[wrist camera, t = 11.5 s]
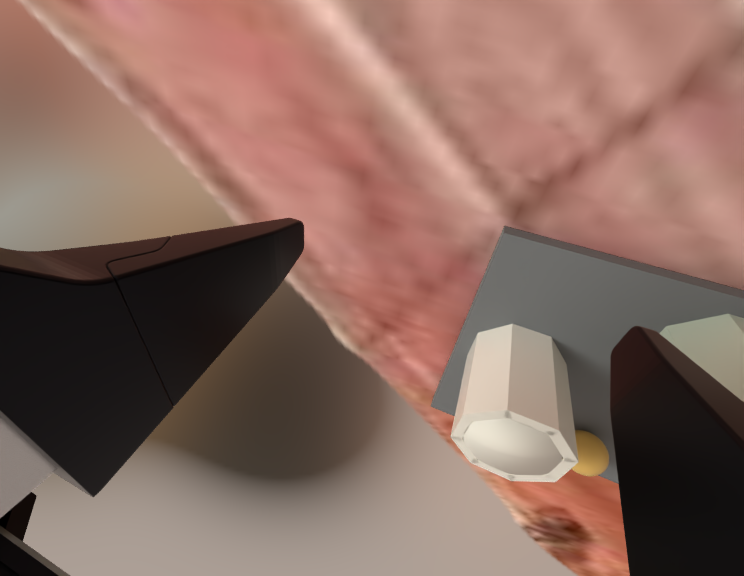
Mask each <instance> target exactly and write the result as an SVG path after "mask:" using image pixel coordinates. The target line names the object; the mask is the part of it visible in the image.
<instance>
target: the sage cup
mask: <svg viewBox="0 0 744 576" xmlns="http://www.w3.org/2000/svg"><path fill="white" fill-rule="evenodd" d="M659 334H660V335H662V336H663V337H664V338H665V339H667V340H668V341H669V342H670V343H672V344H673V345H674V346H675V347H676V348H678V349H679V350H680V351H681V352H683V353H684V354H685V355H686V356H688V357H689V358H690V359H691V360H692V361H694V362H695V363H696V364H697V365H699V366H700V367H701V368H702V369H704V370H705V371H706V372H707V373H708V374H710V375H711V376H712V377H713V378H715V379H716V380H717V381H718V382H720V383H721V384H722V385H723V386H724V387H726V388H727V389H728V390H729V391H731V392H732V393H733V394H734V395H736V396H737V397H738V398H739V399H740V400H742V401H743V402H744V318H742V317H738V316H735V315H731V314H724V315H719V316H714V317H709V318H704V319H699V320H694V321H689V322H684V323H680V324H675V325H670V326H666V327H665V328H664V329H663V330H662V331H661V332H660V333H659Z"/></svg>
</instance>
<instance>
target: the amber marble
mask: <svg viewBox="0 0 744 576" xmlns="http://www.w3.org/2000/svg"><path fill="white" fill-rule="evenodd" d="M575 437H576V445H577V453H578V461H579V462H578V463H577V464H576V465H575V466H574V467H572V468H571V469H572V470H573V471H575V472H577V473H579V474H581V475H584V476H597V475H599V474H601V473H603V472H604V471H605V470H606V469H607V467H608V464H609V454H608V450H607V448H606V446H605V445H604V443H603V442H602V441H601V440H600V439H599V438H598V437H597V436H595V435H594V434H592V433H589V432H587V431H583V430H575Z"/></svg>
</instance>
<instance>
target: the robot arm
mask: <svg viewBox="0 0 744 576" xmlns="http://www.w3.org/2000/svg"><path fill="white" fill-rule="evenodd" d="M303 249H304V225H303V223H302V222H301V221H299V220H296V219H293V218H285V219H278V220H272V221H265V222H259V223H252V224H246V225H239V226H233V227H227V228H220V229H214V230H207V231H200V232H195V233H187V234H181V235H174V236H172V237H170V236H167V237H161V238H154V239H147V240H140V241H133V242H124V243H116V244H108V245H98V246H89V247H81V248H71V249H63V250H52V251H39V252H28V251H16V250H10V249H4V248H0V576H70V575H68V574H67V573H66V572H64V571H63V570H61V569H60V568H59V567H57V566H56V565H55V564H53V563H52V562H50V561H49V560H48V559H46V558H45V557H43V556H42V555H41V554H39V553H38V552H36V551H35V550H34V549H32V548H31V547H29V546H28V545H27V544H25V543H24V542H23V539H24V535H25V532H26V529H27V526H28V522H29V519H30V516H31V513H32V509H33V506H34V503H35V500H36V495H35V494H34V493H32V492H31V491H33V490H34V489H35V488H36V487H37V486H38V485H39V484H41V483H42V482H43V481H44V480H45V479H46V478H47V477H49V476H50V475H51V474H52V473H55V474H57V475H58V476H60V477H61V478H63V479H64V480H66V481H68V482H69V483H71V484H72V485H74V486H76V487H77V488H79V489H80V490H82V491H84V492H85V493H87V494H88V495H90V496H92V497H94V496H95V495H96V494H97V493H99V491H101V490H102V488H103V487H104V486H105V485H106V484H107V483H108V482H109V480H110V479H111V478H112V477H113V476H114V475H115V474H116V473H117V471H118V470H119V469H120V468H121V467H122V466H123V465H124V463H125V462H126V461H127V460H128V459H129V458H130V457H131V455H132V454H133V453H134V452H135V451H136V450H137V449H138V447H139V446H140V445H141V444H142V443H143V442H144V441H145V439H146V438H147V437H148V436H149V435H150V434H151V433H152V432H153V430H154V429H155V428H156V427H157V426H158V425H159V424H160V422H161V421H162V420H163V419H164V418H165V417H166V415H167V414H168V413H169V412H170V411H171V410H172V409H173V406H175V405H176V404H177V403H178V402H179V400H180V399H181V398H182V397H183V396H184V395H185V394H186V392H187V391H188V390H189V389H190V388H191V387H192V386H193V384H194V383H195V382H196V381H197V380H198V379H199V378H200V376H201V375H202V374H203V373H204V372H205V371H206V370H207V368H208V367H209V366H210V365H211V364H212V363H213V362H214V360H215V359H216V358H217V357H218V356H219V355H220V354H221V352H222V351H223V350H224V349H225V348H226V347H227V345H228V344H229V343H230V342H231V341H232V340H233V338H235V336H236V335H237V334H238V333H239V332H240V331H241V330H242V328H243V327H244V326H245V325H246V324H247V322H248V321H249V320H250V319H251V318H252V317H253V316H254V315H255V314H256V312H257V311H258V310H259V309H260V308H261V307H262V306H263V304H264V303H265V302H266V301H267V300H268V299H269V298H270V296H271V295H272V294H273V293H274V292H275V290H276V289H277V288H278V287H279V286H280V284H281V283H282V281H283V280H284V278H285V277H286V276H287V274H288V273H289V271H290V270H291V268H292V267H293V265H294V264H295V262H296V261H297V260H298V258H299V257H300V255H301V254H302V252H303ZM610 416H611V425H612V433H613V441H614V449H615V458H616V466H617V474H618V482H619V490H620V498H621V506H622V515H623V523H624V531H625V539H626V547H627V555H628V563H629V571H630V576H744V402H743V401H742V400H740V399H739V398H738V397H737V396H736V395H734V394H733V393H732V392H731V391H729V390H728V389H727V388H726V387H724V386H723V385H722V384H721V383H720V382H718V381H717V380H716V379H715V378H713V377H712V376H711V375H710V374H708V373H707V372H706V371H705V370H704V369H702V368H701V367H700V366H699V365H697V364H696V363H695V362H694V361H692V360H691V359H690V358H689V357H688V356H686V355H685V354H684V353H683V352H681V351H680V350H679V349H678V348H676V347H675V346H674V345H673V344H672V343H670V342H669V341H668V340H667V339H665V338H664V337H663V336H662V335H660V334H659V333H658V332H657V331H654V330H651V329H648V328H645V327H642V326H634V327H632V328H631V329H630V330H629V331H628V332H627V333H626V334H625V335H624V336H623V337H622V339H621V340H620V341H619V342H618V343H617V344H616V346H615V347H614V348H613V350H612V352H611V356H610Z"/></svg>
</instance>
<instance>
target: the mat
mask: <svg viewBox="0 0 744 576" xmlns="http://www.w3.org/2000/svg"><path fill="white" fill-rule="evenodd" d="M724 314H731V315H735V316H738V317H742V318H744V290H740V289H736V288H733V287H729V286H725V285H722V284H718V283H714V282H711V281H707V280H703V279H699V278H696V277H692V276H688V275H685V274H681V273H677V272H673V271H670V270H666V269H662V268H659V267H655V266H651V265H648V264H644V263H640V262H636V261H633V260H629V259H625V258H622V257H618V256H614V255H611V254H607V253H603V252H599V251H596V250H592V249H588V248H585V247H581V246H577V245H573V244H570V243H566V242H562V241H559V240H555V239H551V238H548V237H544V236H540V235H536V234H533V233H529V232H525V231H522V230H518V229H514V228H511V227H507V226H504V228H503V231H502V233H501V235H500V238H499V240H498V243H497V245H496V247H495V250H494V252H493V255H492V257H491V260H490V262H489V264H488V267H487V269H486V272H485V274H484V276H483V279H482V281H481V284H480V286H479V289H478V291H477V293H476V296H475V298H474V301H473V303H472V305H471V308H470V310H469V313H468V315H467V317H466V320H465V322H464V325H463V327H462V330H461V332H460V334H459V337H458V339H457V342H456V344H455V346H454V349H453V351H452V354H451V356H450V358H449V361H448V363H447V366H446V368H445V371H444V373H443V375H442V378H441V380H440V383H439V385H438V387H437V390H436V392H435V395H434V397H433V400H432V404H431V407H434V408H436V409H438V410H441V411H443V412H446V413H448V414H450V415H453V416H455V413H456V408H457V403H458V398H459V393H460V389H461V384H462V379H463V374H464V369H465V364H466V359H467V355H468V353H469V351H470V349H471V346H472V344H473V342H474V340H475V338H476V336H477V334H478V333H479V332H483V331H486V330H490V329H494V328H498V327H502V326H506V325H509V324H515V325H518V326H521V327H524V328H527V329H530V330H533V331H536V332H539V333H542V334H545V335H548V336H551V337H552V339H553V341H554V343H555V344H556V346H557V348H558V350H559V352H560V353H561V355H562V357H563V359H564V360H565V362H566V365H567V373H568V381H569V389H570V397H571V405H572V413H573V421H574V429H575V430H583V431H587V432H589V433H592V434H594V435H595V436H597V437H598V438H599V439H600V440H601V441H602V442H603V443H604V445H605V446H606V448H607V450H608V454H609V464H608V467H607V469H606V470H605V471H604V472H603V473H601V474H599V475H598V476H601V477H603V478H606V479H608V480H611V481H613V482H615V483H618V484H619V482H618V474H617V466H616V458H615V449H614V441H613V433H612V425H611V416H610V356H611V352H612V350H613V348H614V347H615V346H616V344H617V343H618V342H619V341H620V340H621V339H622V337H623V336H624V335H625V334H626V333H627V332H628V331H629V330H630V329H631V328H632V327H634V326H642V327H645V328H648V329H651V330H654V331H657V332H658V333H660V332H661V331H662V330H663V329H664V328H665V327H666V326H670V325H675V324H680V323H684V322H689V321H694V320H699V319H704V318H709V317H714V316H719V315H724Z"/></svg>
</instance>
